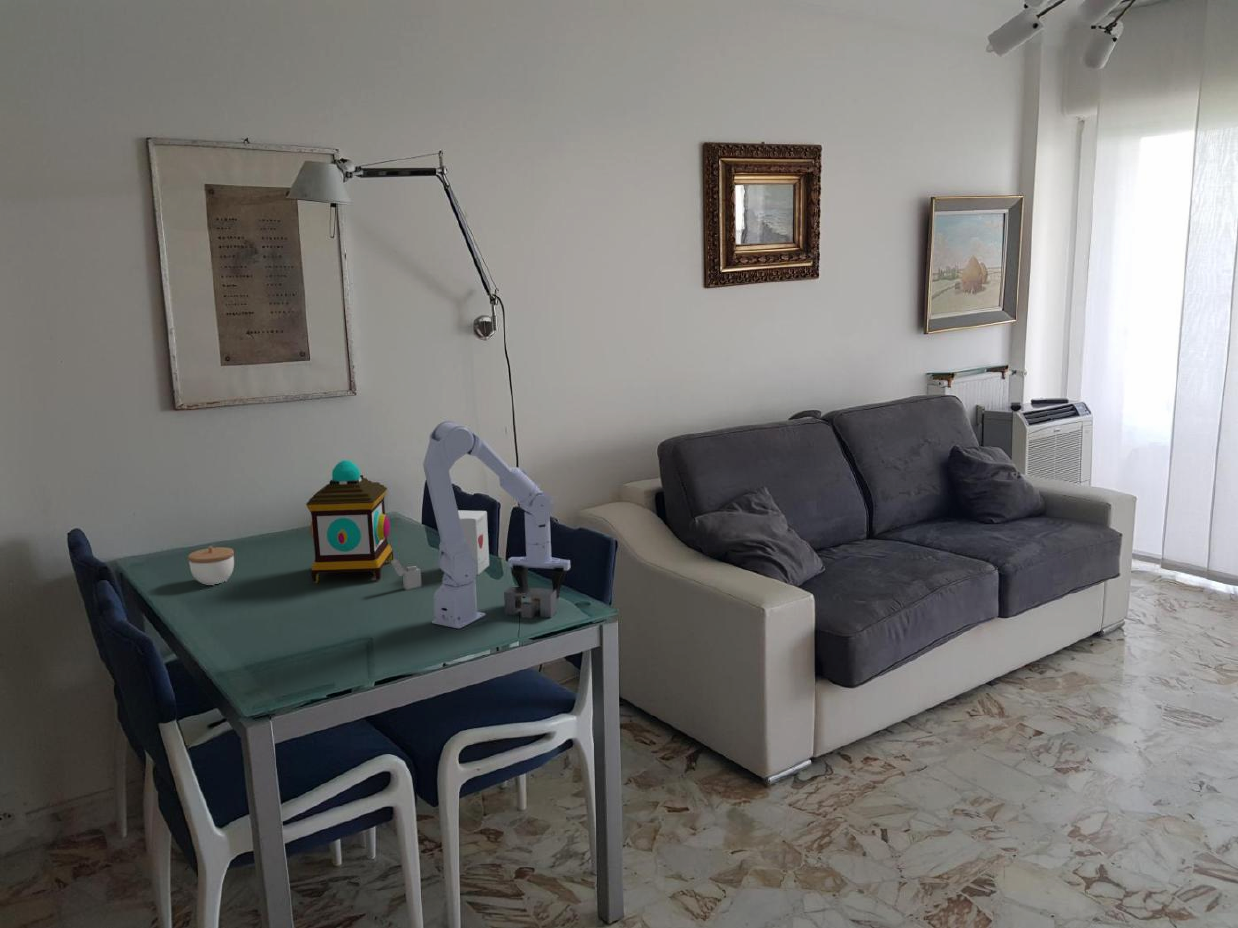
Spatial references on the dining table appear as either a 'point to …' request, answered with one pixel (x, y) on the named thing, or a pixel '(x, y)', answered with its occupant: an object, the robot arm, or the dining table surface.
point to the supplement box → (476, 536)
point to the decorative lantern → (349, 524)
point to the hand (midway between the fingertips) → (540, 597)
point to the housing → (515, 593)
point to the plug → (530, 607)
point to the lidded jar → (212, 564)
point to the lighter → (408, 575)
